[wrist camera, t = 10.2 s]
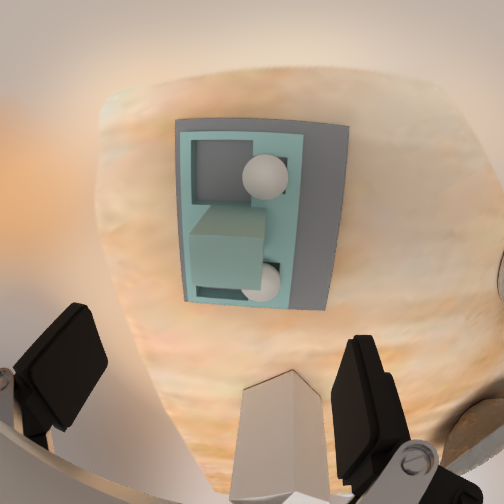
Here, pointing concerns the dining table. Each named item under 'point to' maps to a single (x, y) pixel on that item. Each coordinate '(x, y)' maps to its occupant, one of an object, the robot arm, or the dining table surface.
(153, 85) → the dining table surface
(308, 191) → the board
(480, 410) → the ceramic bowl
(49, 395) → the robot arm
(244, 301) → the teal frame with block
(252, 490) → the milk carton
